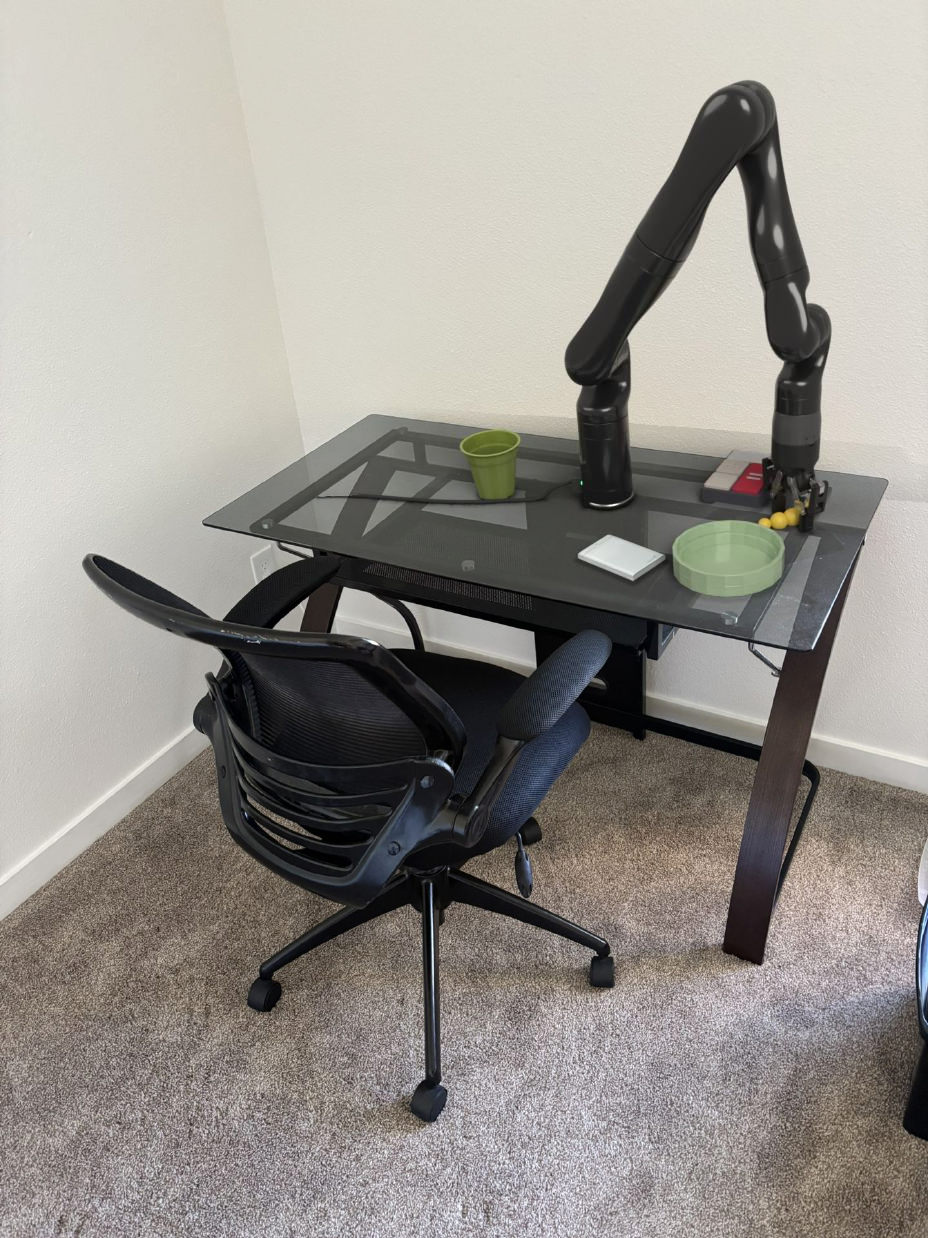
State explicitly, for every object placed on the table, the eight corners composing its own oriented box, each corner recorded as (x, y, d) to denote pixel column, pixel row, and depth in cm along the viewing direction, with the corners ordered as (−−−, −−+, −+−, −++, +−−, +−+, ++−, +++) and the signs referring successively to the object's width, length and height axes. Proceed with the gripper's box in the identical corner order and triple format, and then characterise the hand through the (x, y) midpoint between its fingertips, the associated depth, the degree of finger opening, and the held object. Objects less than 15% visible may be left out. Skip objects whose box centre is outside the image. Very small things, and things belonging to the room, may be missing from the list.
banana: (770, 539, 159) (771, 522, 157) (754, 529, 162) (755, 513, 160) (826, 518, 162) (827, 501, 160) (809, 509, 165) (810, 492, 163)
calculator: (699, 484, 171) (732, 445, 180) (700, 504, 173) (732, 465, 182) (759, 493, 165) (789, 453, 174) (758, 514, 167) (789, 473, 176)
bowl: (676, 603, 148) (676, 579, 145) (670, 547, 162) (669, 524, 159) (791, 596, 144) (792, 571, 142) (774, 539, 158) (775, 516, 156)
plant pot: (482, 514, 182) (473, 461, 176) (459, 491, 192) (450, 440, 185) (537, 495, 185) (530, 443, 179) (512, 474, 194) (505, 423, 188)
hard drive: (665, 553, 157) (609, 532, 166) (632, 575, 153) (577, 552, 162) (665, 562, 158) (610, 540, 166) (633, 584, 154) (578, 560, 163)
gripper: (748, 426, 157) (747, 514, 166) (807, 454, 145) (801, 548, 155) (785, 413, 159) (782, 501, 168) (846, 440, 147) (839, 533, 156)
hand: (791, 523), depth 161 cm, fingers open, 6 cm apart
